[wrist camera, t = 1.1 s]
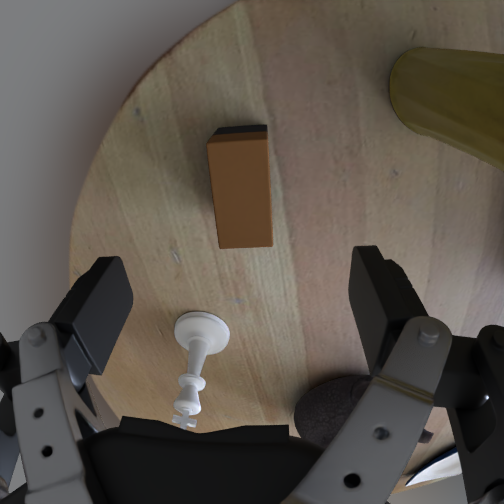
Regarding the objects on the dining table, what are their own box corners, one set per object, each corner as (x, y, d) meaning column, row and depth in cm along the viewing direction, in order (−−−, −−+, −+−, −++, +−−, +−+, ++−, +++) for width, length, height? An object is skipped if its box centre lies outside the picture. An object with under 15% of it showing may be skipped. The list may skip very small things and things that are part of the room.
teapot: (403, 413, 36) (418, 476, 27) (291, 426, 37) (293, 495, 28) (453, 312, 26) (496, 393, 17) (298, 325, 27) (307, 428, 18)
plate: (397, 478, 54) (399, 488, 52) (452, 439, 43) (455, 451, 41) (456, 467, 56) (458, 475, 53) (508, 427, 45) (512, 436, 43)
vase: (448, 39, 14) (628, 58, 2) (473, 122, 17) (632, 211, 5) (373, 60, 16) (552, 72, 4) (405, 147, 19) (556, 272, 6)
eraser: (217, 127, 19) (205, 142, 15) (267, 124, 18) (268, 138, 15) (227, 215, 22) (219, 249, 18) (271, 212, 22) (273, 247, 18)
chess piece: (222, 354, 29) (211, 449, 21) (172, 342, 29) (147, 435, 20) (236, 319, 27) (225, 424, 18) (178, 304, 26) (148, 406, 18)
